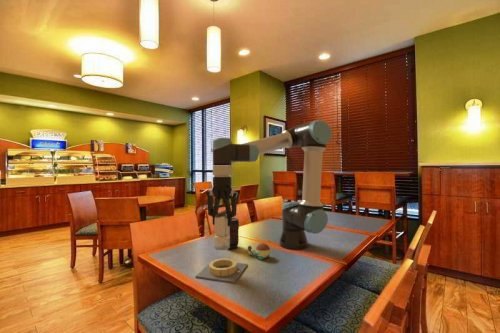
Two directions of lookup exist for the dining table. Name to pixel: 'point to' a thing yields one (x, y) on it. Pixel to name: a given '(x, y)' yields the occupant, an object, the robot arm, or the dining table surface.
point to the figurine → (260, 251)
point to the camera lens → (234, 234)
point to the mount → (222, 270)
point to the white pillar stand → (221, 232)
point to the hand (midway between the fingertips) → (222, 233)
